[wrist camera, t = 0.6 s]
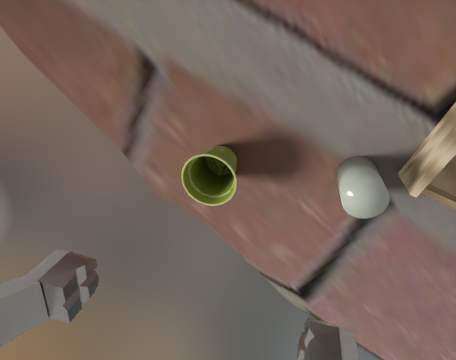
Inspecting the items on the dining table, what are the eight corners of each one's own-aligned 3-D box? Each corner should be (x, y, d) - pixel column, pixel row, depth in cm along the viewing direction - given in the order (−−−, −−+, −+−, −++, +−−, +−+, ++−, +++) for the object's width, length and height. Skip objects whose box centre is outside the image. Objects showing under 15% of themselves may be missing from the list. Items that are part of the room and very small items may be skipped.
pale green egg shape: (350, 149, 49) (357, 172, 42) (385, 166, 49) (399, 192, 42) (329, 179, 53) (332, 206, 45) (362, 195, 53) (371, 225, 45)
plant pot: (256, 165, 55) (248, 187, 47) (220, 191, 59) (207, 215, 52) (223, 126, 53) (209, 142, 45) (188, 155, 57) (170, 175, 50)
